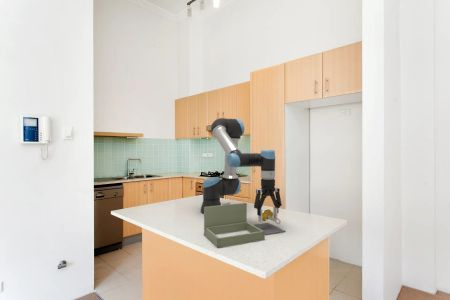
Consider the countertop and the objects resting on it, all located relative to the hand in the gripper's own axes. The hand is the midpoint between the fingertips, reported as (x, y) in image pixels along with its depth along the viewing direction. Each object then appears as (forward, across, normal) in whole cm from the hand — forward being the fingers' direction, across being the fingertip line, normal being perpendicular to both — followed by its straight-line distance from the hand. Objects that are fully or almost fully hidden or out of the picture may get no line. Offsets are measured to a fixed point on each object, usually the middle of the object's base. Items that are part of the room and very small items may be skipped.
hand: (268, 220), depth 131 cm
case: (+5, -22, -4) cm, 23 cm away
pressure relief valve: (+1, +2, -1) cm, 2 cm away
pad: (+5, 0, +1) cm, 5 cm away
